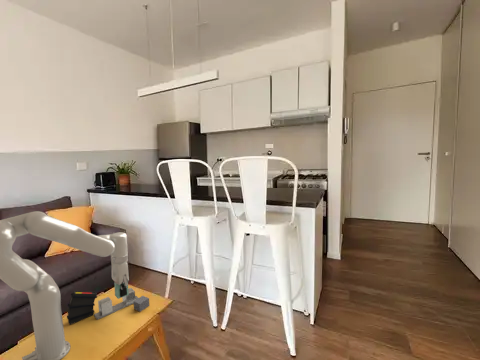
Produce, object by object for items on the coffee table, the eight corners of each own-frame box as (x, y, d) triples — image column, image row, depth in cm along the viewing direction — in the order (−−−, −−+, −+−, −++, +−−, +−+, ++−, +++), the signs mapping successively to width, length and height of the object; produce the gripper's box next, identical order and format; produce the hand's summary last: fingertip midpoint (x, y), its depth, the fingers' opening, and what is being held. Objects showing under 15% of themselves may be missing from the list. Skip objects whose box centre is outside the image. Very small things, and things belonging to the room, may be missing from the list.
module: (118, 298, 123) (117, 284, 122) (115, 295, 126) (114, 281, 125) (128, 294, 127) (127, 281, 126) (125, 291, 129) (124, 278, 129)
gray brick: (140, 312, 134) (139, 304, 133) (134, 309, 136) (133, 301, 136) (149, 305, 139) (148, 298, 138) (143, 303, 141) (142, 295, 141)
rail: (97, 320, 128) (95, 306, 127) (94, 315, 131) (92, 302, 130) (140, 300, 143) (139, 288, 142) (136, 297, 147) (135, 285, 146)
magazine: (59, 322, 124) (72, 290, 127) (88, 320, 134) (99, 291, 136) (61, 325, 122) (74, 293, 125) (90, 324, 131) (101, 294, 134)
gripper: (105, 255, 127) (107, 290, 129) (118, 266, 116) (120, 304, 118) (120, 251, 133) (122, 285, 135) (134, 261, 121) (136, 297, 123)
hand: (121, 293), depth 126 cm, fingers closed on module, 4 cm apart
